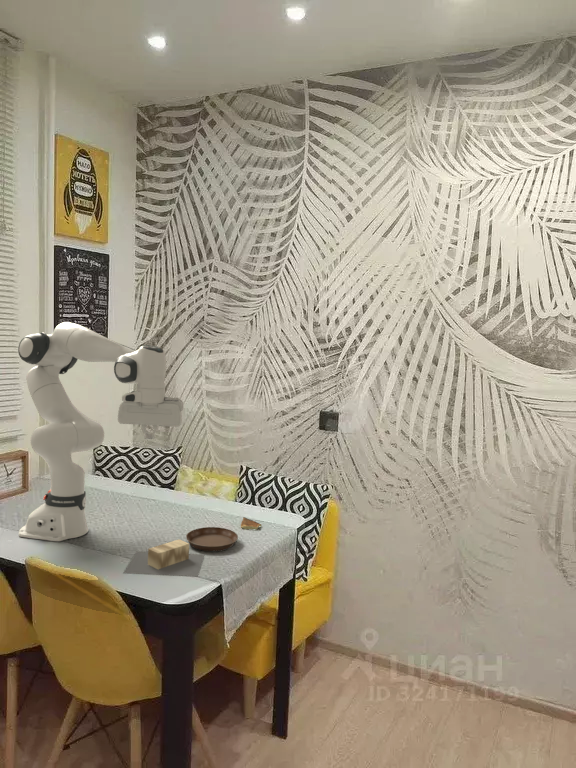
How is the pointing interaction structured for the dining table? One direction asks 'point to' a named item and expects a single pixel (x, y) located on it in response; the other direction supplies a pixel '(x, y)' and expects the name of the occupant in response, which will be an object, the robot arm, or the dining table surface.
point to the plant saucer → (212, 538)
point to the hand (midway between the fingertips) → (149, 438)
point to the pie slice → (249, 524)
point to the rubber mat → (178, 569)
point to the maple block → (168, 554)
